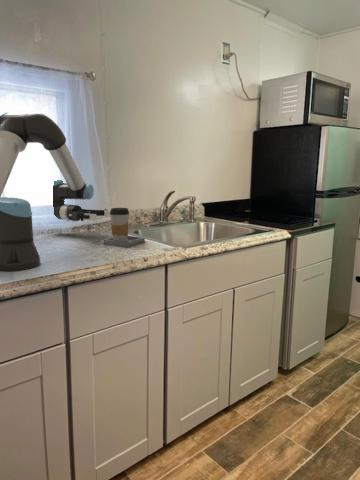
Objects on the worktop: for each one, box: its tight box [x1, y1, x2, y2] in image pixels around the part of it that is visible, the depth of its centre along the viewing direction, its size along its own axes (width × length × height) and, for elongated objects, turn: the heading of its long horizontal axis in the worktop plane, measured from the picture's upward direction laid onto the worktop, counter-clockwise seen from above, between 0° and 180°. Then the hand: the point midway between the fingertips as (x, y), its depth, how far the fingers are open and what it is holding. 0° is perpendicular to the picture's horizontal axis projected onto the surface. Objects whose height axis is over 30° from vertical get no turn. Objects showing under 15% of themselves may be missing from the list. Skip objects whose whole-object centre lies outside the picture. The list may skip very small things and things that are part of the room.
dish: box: [103, 235, 146, 249], centre depth 166 cm, size 13×13×2 cm
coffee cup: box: [109, 207, 130, 242], centre depth 163 cm, size 8×8×15 cm
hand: (106, 215), depth 169 cm, fingers open, 13 cm apart
